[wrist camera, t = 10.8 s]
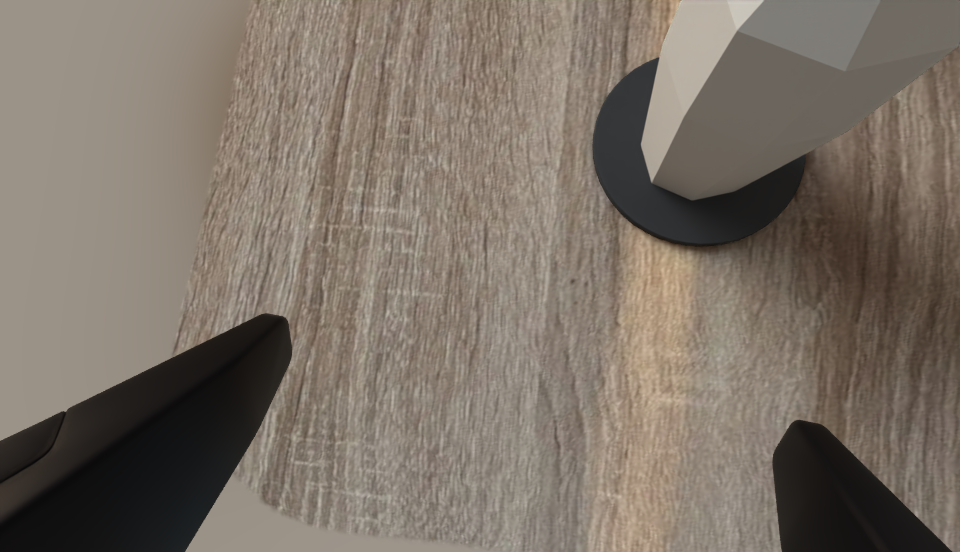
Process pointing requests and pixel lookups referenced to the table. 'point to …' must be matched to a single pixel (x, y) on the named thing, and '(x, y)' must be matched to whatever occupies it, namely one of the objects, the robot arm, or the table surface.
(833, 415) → the table surface
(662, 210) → the coaster
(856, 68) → the faceted bottle
